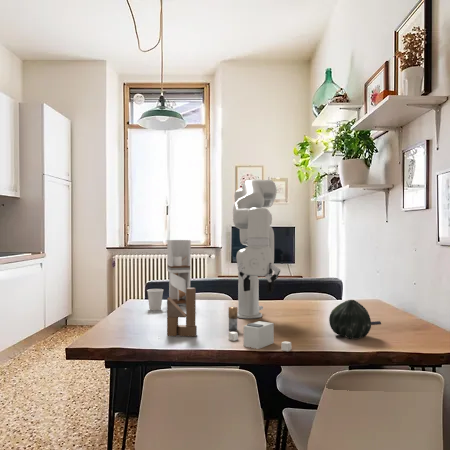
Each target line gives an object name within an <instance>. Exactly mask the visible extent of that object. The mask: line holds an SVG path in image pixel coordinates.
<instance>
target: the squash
mask: <svg viewBox="0 0 450 450" xmlns="http://www.w3.org/2000/svg"><path fill="white" fill-rule="evenodd" d="M370 316H371V315H370V314H369V312H368V310H367V309H366V308H365V306H364V305H363V304H361V303H360V302H359V301H357V300H355V299H348V300H346V301H344V302H342V303H340V304H337V306H336V307H334V308H333V309H332V310H331V312H330V314H329V317H328V323H329V327H330V329H331V330H332V331H333V332H334V333H335V334H337V335H338V336H343V337H346V338H347V339H349V340H352V339H355V340H359V339H360V338H365V337H366V336H367V335H368V334H369V333H370V331H371V328H372V325H371V322H372V319H371V317H370Z"/></svg>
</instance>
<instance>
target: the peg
mask: <svg viewBox="0 0 450 450" xmlns="http://www.w3.org/2000/svg"><path fill="white" fill-rule="evenodd" d="M228 331H229V332H237V331H238V307H237V306H228Z"/></svg>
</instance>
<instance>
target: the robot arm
mask: <svg viewBox="0 0 450 450" xmlns="http://www.w3.org/2000/svg"><path fill="white" fill-rule="evenodd" d="M277 193H278V192H277V185H276V183H275V182H274V181H273V180H270V179H250V180H249V179H248V180H246V181H245V182H244V183H243V184H242V186H241V188H239V189H237V190H235V192H234V204H233V208H232V222H233V225H234V227H235V228H237V229H239V241H240V244H242V245H243V246H246V247H245V248H241V249H239V250H238V251H237V252H236V265H237V275H238V283H237V285H238V286H237V287H238V290H237V291H238V292H237V293H238V295H237V296H238V297H237V298H238V299H237V303H238V305H237V306H238V307H237V308H238V318H239V319H247V320H249V319H251V320H252V319H260V318H262V317H263V313H261V312H260V311H262V310H264V306H263V305H260V303H259V300H260V297H259V296H260V295H259V291H260V290H259V286H260V285H259V283H260V281H259V277H265V278H266V280H267V282H266V294H268V295H271V294H274V289H275V284H274V283H275V281H276V280H277V279H278V278H279V275H280V273H281V268H279V267H278V266H276V265H274V264H275V263H274V262H275V232H274V229H273V227H272V226H271V225H272V221H273V216H272V215H273V214H272V213H271V212H270V210H269V209H268V208H271V207H272V206H273V204H274V203H275V200H276V198H277ZM273 271H274V272H273ZM238 318H237V319H238Z"/></svg>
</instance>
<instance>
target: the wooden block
mask: <svg viewBox="0 0 450 450" xmlns="http://www.w3.org/2000/svg"><path fill="white" fill-rule="evenodd" d="M196 289H197V288H196V287H190V288H186V306H185V311H184V310H183V309H182V308H181V306H178V305H177V304H176V303H175V302H174V301H173V300H172V299H171V298H170V297H167V298H166V303H167V304H166V310H167V311H166V336H167V337H176V336H180V337H188V338H189V337H190V338H192V337H193V338H194V337H196V336H197V328H198V327H197V325H196V314H197V313H196V301H197V300H196V298H197V297H196V295H197V294H196V293H197V292H196ZM179 318H185V324H179Z"/></svg>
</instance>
